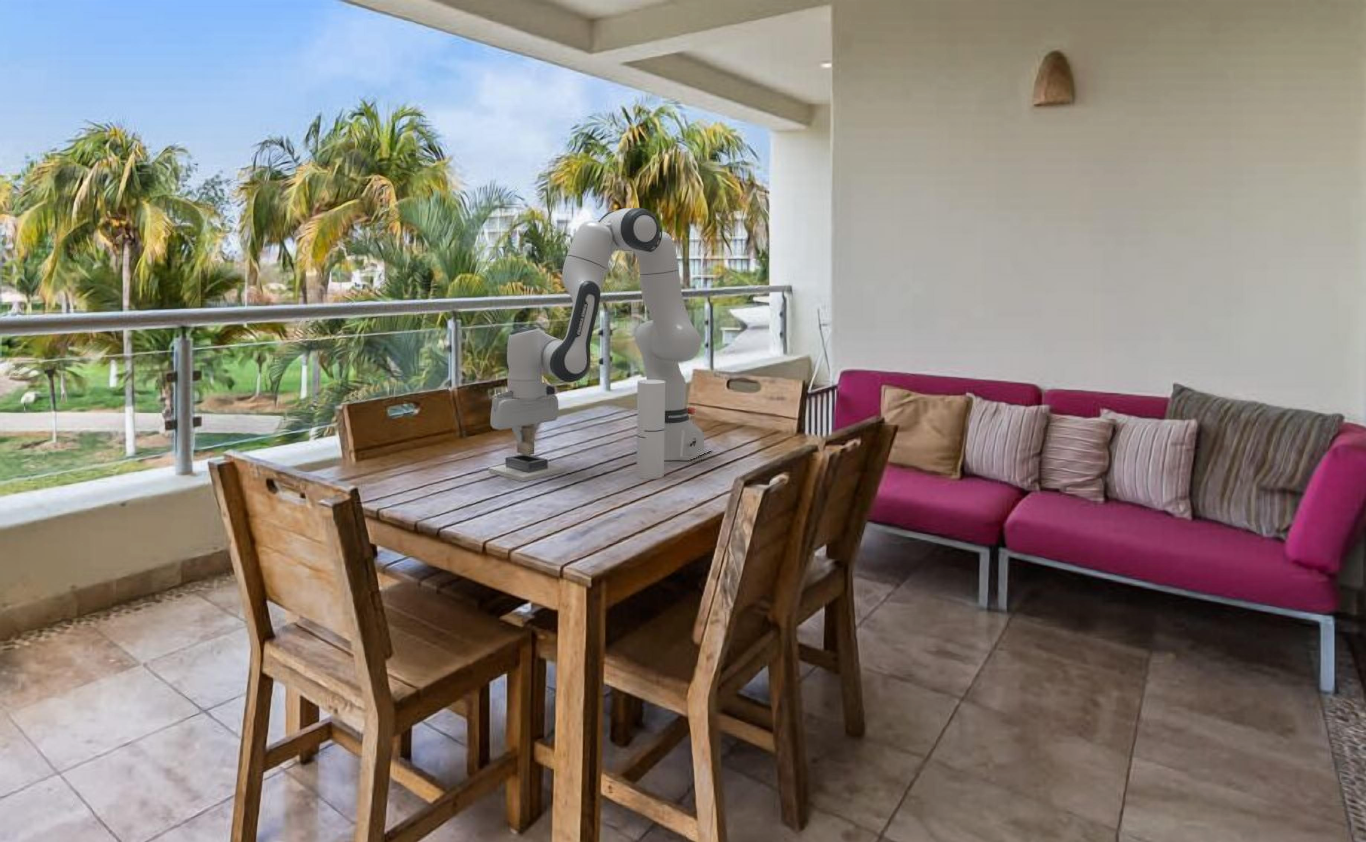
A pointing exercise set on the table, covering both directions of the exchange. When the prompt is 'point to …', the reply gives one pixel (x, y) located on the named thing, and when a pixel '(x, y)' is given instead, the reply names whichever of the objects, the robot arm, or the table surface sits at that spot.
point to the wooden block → (526, 441)
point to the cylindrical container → (650, 428)
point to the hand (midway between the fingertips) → (525, 441)
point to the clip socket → (526, 463)
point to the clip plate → (525, 476)
